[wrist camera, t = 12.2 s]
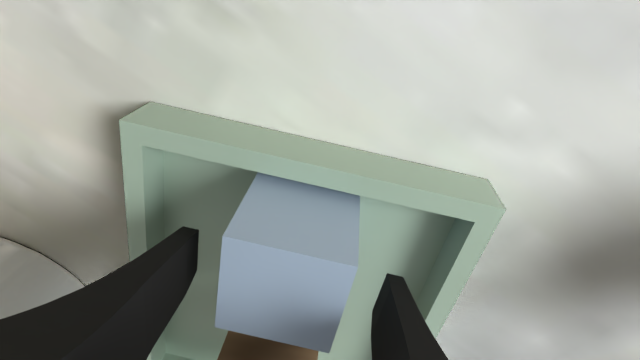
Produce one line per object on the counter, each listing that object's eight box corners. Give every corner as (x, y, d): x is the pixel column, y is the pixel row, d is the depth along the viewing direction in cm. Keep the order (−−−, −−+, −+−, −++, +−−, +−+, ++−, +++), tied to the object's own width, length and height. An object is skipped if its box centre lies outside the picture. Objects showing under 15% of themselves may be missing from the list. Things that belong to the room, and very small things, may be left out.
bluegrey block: (360, 182, 15) (358, 267, 11) (338, 256, 17) (329, 353, 13) (264, 160, 15) (222, 235, 11) (253, 237, 17) (214, 327, 13)
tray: (379, 400, 23) (380, 439, 21) (157, 349, 23) (138, 383, 21) (488, 179, 15) (506, 209, 13) (150, 101, 15) (118, 119, 13)
